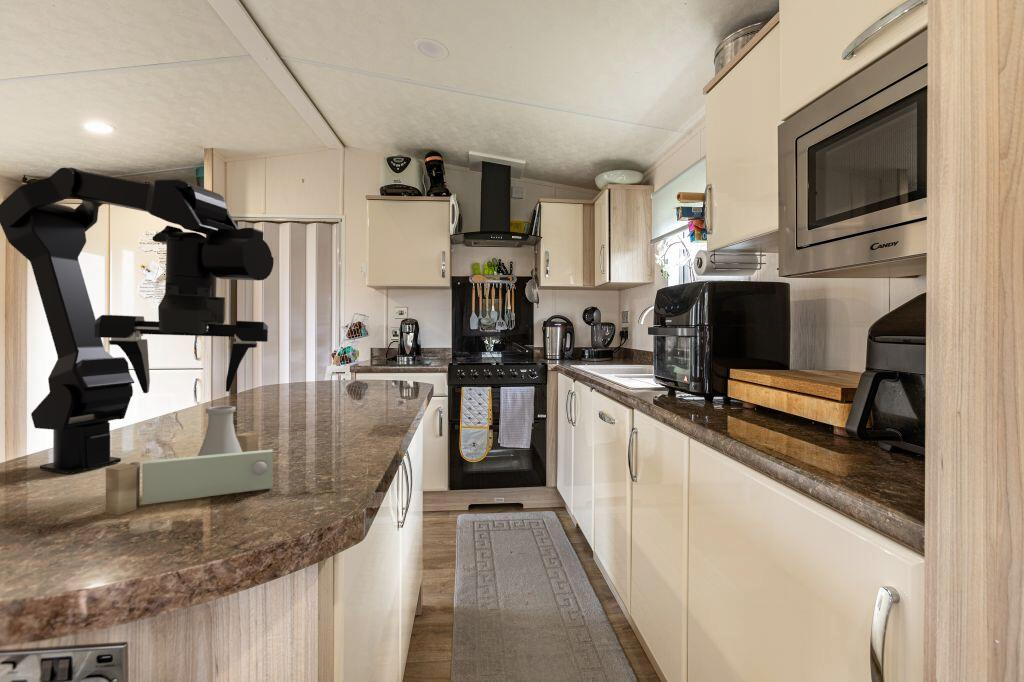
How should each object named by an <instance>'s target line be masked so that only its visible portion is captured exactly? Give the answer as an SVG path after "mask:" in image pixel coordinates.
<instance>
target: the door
mask: <svg viewBox="0 0 1024 682" xmlns="http://www.w3.org/2000/svg"><path fill="white" fill-rule="evenodd" d="M273 467H274V449H273V448H272V449H263V450H258V451H249V452H238V453H227V454H216V455H205V456H198V455H194V456H186V457H184V456H183V457H176V458H175V457H173V458H164V459H163V458H162V459H161V458H160V459H152V460H150V459H149V460H144V461H143V462H142V468H141V469H142V477H141V478H142V480H141V483H142V484H141V485H142V487H141V488H142V489H141V494H142V495H141V496H142V497H141V503H142V505H149V504H157V503H158V504H159V503H164V502H172V501H181V500H189V499H196V498H204V497H211V496H219V495H228V494H236V493H237V494H238V493H243V492H250V491H252V492H253V491H260V490H268V489H273V488H274V487H273V485H274V484H273V481H274V480H273V476H274V468H273Z"/></svg>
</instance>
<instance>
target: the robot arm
mask: <svg viewBox="0 0 1024 682" xmlns="http://www.w3.org/2000/svg"><path fill="white" fill-rule="evenodd" d="M15 189H16V190H14V191H13V192H12V193H11V194H10V195H9V196H7V197H6V198H5V199H4V200H3V201H1V203H0V227H1V228H2V230H3V233H4V236H5V237H6V240H7V242H8V243H9V245H11V246H12V247H13V248H14V249H16V251H18V252H19V253H20V254H21V255H22V256H23V257H24V258H26V259H27V260H28V261H29V263H30V265H31V268H32V272H33V275H34V279H35V282H36V285H37V289H38V292H39V296H40V300H41V304H42V306H43V310H44V312H45V313H44V314H45V317H46V321H47V324H48V327H49V331H50V333H51V338H52V341H53V344H54V348H55V351H56V354H57V355H56V356H57V360H56V362H55V364H54V366H53V368H52V370H51V372H50V374H49V376H48V379H47V380H48V382H47V383H48V387H49V393H48V394H47V395H46V396H45V397H44V399H42V400H41V402H39V404H38V405H37V406H36V407H35V409H33V410H32V412H31V414H30V415H31V420H32V422H33V423H32V424H33V427H34V429H40V430H41V429H43V430H52V431H53V432H52V433H53V452H52V453H53V457H52V458H53V459H52V461H53V462H49V463H45V464H40V465H39V469H40V470H42V471H43V470H44V471H49V472H50V471H51V472H55V473H62V474H67V475H68V474H76V473H79V472H83V471H88V470H92V469H96V468H100V467H103V466H108V465H112V464H116V463H120V462H121V461H122V458H121V457H115V456H111V433H110V432H111V430H110V429H111V427H110V426H111V424H110V421H115V420H124V419H125V417H126V414H127V411H128V407H129V405H130V401H131V399H132V397H133V395H134V394H133V393H134V390H133V389H134V388H133V385H132V384H135V380H134V379H133V376H132V375H131V373H130V368H129V362H130V363H131V366H132V368H133V370H134V373H135V375H136V378H137V381H138V383H139V385H140V387H141V391H142V393H143V394H148V393H149V392H150V382H151V377H150V362H149V347H148V346H149V344H148V339H147V338H144V339H143V338H142V337H143V336H144V335H156V336H157V335H160V336H161V335H162V336H193V337H194V336H195V337H197V336H198V337H224V338H225V337H227V338H229V337H230V338H234V340H236V341H234V342H233V343H232V345H231V346H232V347H231V353H230V358H229V363H228V369H227V374H226V380H225V392H226V393H227V392H230V390H231V388H232V385H233V382H234V380H235V377H236V374H237V372H238V369H239V367H240V365H241V362H242V361H243V358H244V357H245V355H246V354H247V352H248V350H249V349H251V348H258V342H259V343H261V342H263V343H265V342H267V343H268V339H269V338H268V336H269V335H268V332H269V325H268V324H266V323H265V322H264V321H252V320H236V321H235V322H236V323H235V324H226V323H225V322H226V321H225V320H226V298H225V297H224V296H223V297H221V296H217V286H218V285H217V282H218V281H217V280H218V279H221V280H236V281H240V280H241V281H264V280H265V279H267V278H268V277H269V276H270V275H271V273H272V271H273V267H274V257H273V256H272V250H271V248H270V247H269V245H268V243H267V242H266V241H265V240H264V231H263V230H261V229H257V228H254V227H242V228H239V226H238V225H237V223H236V222H235V221H234V218H233V217H232V215H231V214H230V212H229V211H228V208H227V203H226V201H225V200H224V196H222V195H221V194H220V193H217V192H215V191H212V190H209V189H206V188H205V187H204V188H203V187H201V186H198V185H197V184H196V185H195V184H193V183H190V182H187V181H185V180H182V179H179V178H162V179H161V178H160V179H159V178H157V179H155V180H152V181H151V182H141V181H137V180H130V179H127V178H126V179H125V178H121V177H115V176H109V175H104V174H98V173H93V172H88V171H83V170H81V169H78V168H75V167H60V168H59V169H58V170H56V171H55V172H54V173H52V174H51V175H50V176H49V177H46V178H44V179H43V178H42V179H40V180H36V181H33V182H30V183H25V184H23V185H20V186H19V187H18V188H15ZM67 198H73V199H77V200H81V203H80V204H78V206H77V207H76V208H74V207H71V206H69V205H65V204H60V203H59V202H62V201H64V200H66V199H67ZM104 204H106V205H111V206H116V207H120V208H125V209H131V210H136V211H141V212H146V213H148V214H149V215H151V216H153V217H156V218H159V219H161V220H163V221H166V222H168V223H171V224H174V225H178V226H180V227H182V228H183V229H184V230H187V231H184V230H183V229H182V228H180V227H176V226H173V225H172V226H171V225H165V227H164V228H163V229H162V230H161V231H159V232H157V233H155V234H154V236H153V237H152V239H151V240H152V241H153V242H156V243H159V244H165V245H166V248H165V249H166V251H165V252H166V253H165V255H166V256H165V283H164V285H165V288H164V289H165V292H164V295H163V297H162V299H161V301H160V302H159V304H158V307H157V308H158V309H157V311H158V314H157V315H158V321H151V320H145V317H144V315H143V316H140V315H123V314H122V315H118V314H101V315H100V316H99V317H98V318H97V317H95V313H94V310H93V306H92V302H91V299H90V295H89V293H88V288H87V285H86V281H85V278H84V274H83V272H82V269H81V265H80V261H79V257H80V255H81V252H82V251H83V248H84V247H85V246H86V243H87V237H86V236H87V235H86V232H87V231H88V230H89V229H91V228H92V227H93V226H94V225H95V224H97V223H98V217H99V209H100V207H101V206H103V205H104ZM188 231H189V232H188ZM204 235H205V236H204ZM102 338H107V339H110V340H108V344H109V345H110V346H118V347H119V348H120V349H121V350H122V351H123V353H124V354H125V355H126V357H127V358H128V361H129V362H128V361H127V360H126V357H124V356H120V357H119V356H118V357H113V356H112V355H111V354H110V353H109V352H108V351H106V350H105V347H104V342H103V339H102Z"/></svg>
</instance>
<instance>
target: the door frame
mask: <svg viewBox="0 0 1024 682" xmlns="http://www.w3.org/2000/svg"><path fill="white" fill-rule="evenodd" d="M236 437H237V439H238V442H239V444H240V447H241V449H242V452H249V451H259V433H255V432H250V431H249V432H244V433H243V432H242V433H238V434H236ZM140 475H141V462H140V461H134V462H130V463H125V462H124V463H120V464H116V465H112V466H107V467H105V514H109V515H110V514H111V515H116V516H120V515H123V514H126V513H130V512H132V511H135V510H137V508H138V507H139V506H140V503H141V501H140V495H141V494H140V491H141V490H140V489H141V488H140V487H141V486H140V484H141V482H140V480H141V476H140Z"/></svg>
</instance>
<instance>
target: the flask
mask: <svg viewBox="0 0 1024 682" xmlns="http://www.w3.org/2000/svg"><path fill="white" fill-rule="evenodd" d="M236 408H237V406H232V405H218V406H210V407H207V408H205V413H206V414H208V417H207V418H208V420H207V427H206V432H205V437H204V439H203V442H202V445H201V447H200V448H199V451H198V454H197V456H205V455H216V454H227V453H238V452H242V449H241V447H240V444H239V442H238V439H237V437H236V435H237V434H236V430H235V425H234V412H235V411H236V410H237V409H236Z"/></svg>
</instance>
